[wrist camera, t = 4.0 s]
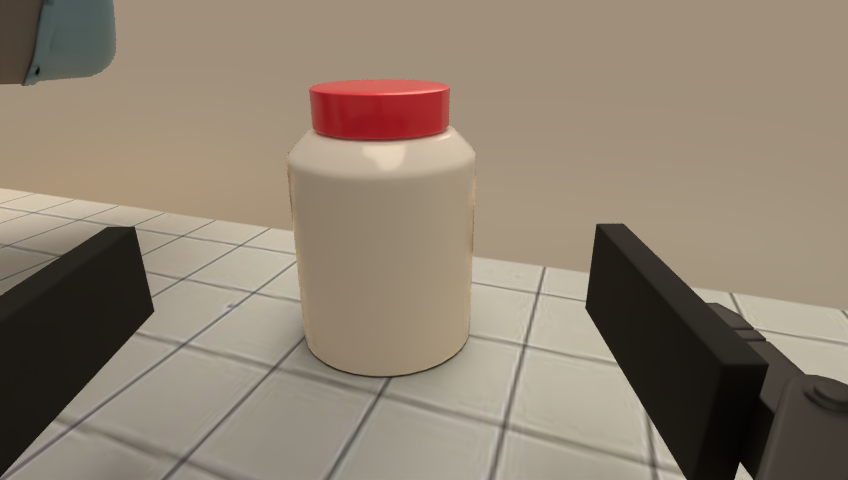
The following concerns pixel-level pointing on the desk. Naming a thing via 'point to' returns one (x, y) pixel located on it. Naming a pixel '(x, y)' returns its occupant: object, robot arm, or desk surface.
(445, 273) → the pill bottle
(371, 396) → the desk surface
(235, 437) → the desk surface
